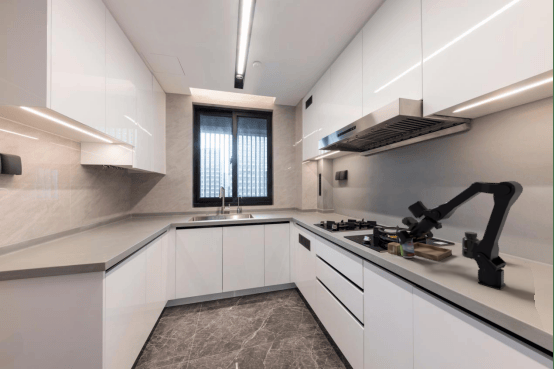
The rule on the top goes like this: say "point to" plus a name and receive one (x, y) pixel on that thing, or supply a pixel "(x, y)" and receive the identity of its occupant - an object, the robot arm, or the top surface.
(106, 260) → the top surface
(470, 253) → the supplement bottle
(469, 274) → the top surface
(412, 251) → the beverage can
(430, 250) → the tray
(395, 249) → the letter block
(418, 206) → the robot arm
